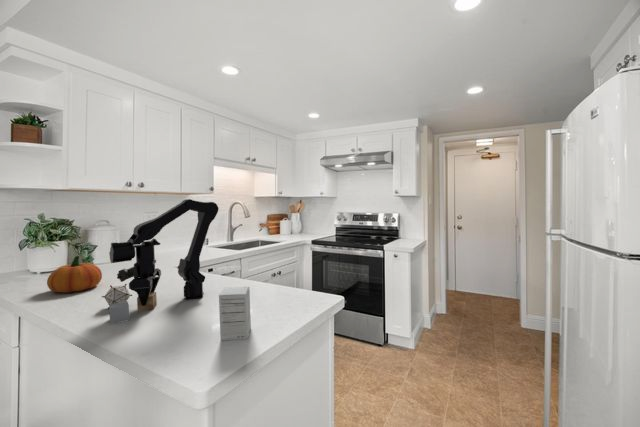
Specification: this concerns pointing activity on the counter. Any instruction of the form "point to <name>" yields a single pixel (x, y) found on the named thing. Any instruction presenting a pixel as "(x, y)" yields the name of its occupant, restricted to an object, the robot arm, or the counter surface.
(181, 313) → the counter surface
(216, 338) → the counter surface
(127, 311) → the grey block
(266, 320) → the counter surface
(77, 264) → the pumpkin
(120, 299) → the game die
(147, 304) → the brown metallic block
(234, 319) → the supplement box
